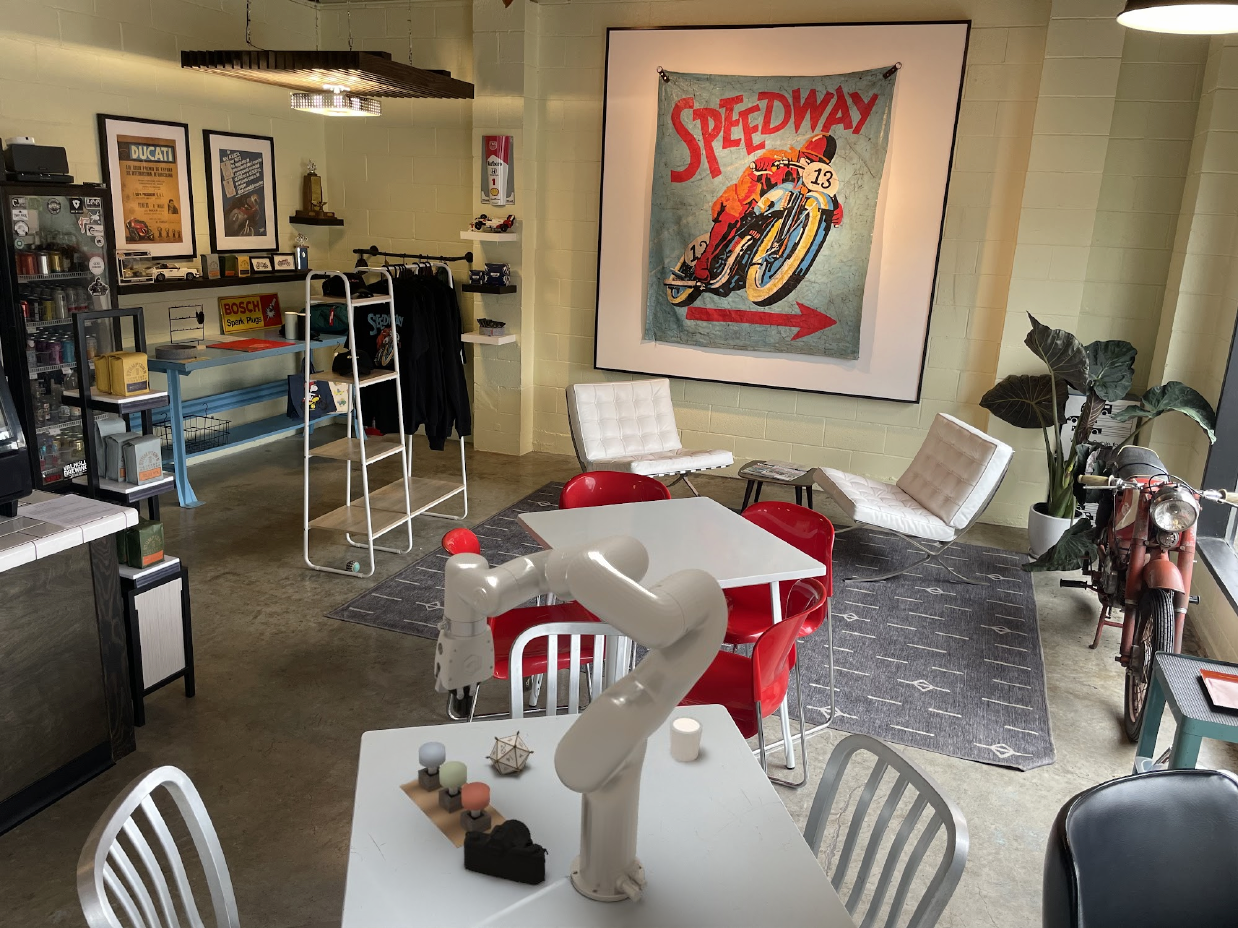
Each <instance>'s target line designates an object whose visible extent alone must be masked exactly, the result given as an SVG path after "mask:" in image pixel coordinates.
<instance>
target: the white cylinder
mask: <svg viewBox="0 0 1238 928" xmlns="http://www.w3.org/2000/svg"><path fill="white" fill-rule="evenodd" d="M703 726H704V725H703V723H702V721H700V720H699V719H697V718H696V717H695V718H694V717H693V716H685V715H684V716H676V717H675V718H674V717H673V719H671V721H670V723H669V731H670V733H669V735H670V737H669V738H670V755H671V757H672V758H673V759H675V760H676V761H679V762H686V763H687V762H688V763H689V762H693V761H695V760H697V758H698V756H699V751H700V750H699V748H700V745H701V744H700V743H701V738H702V733H703Z"/></svg>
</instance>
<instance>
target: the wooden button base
mask: <svg viewBox="0 0 1238 928" xmlns="http://www.w3.org/2000/svg"><path fill="white" fill-rule="evenodd" d="M440 767H441V765H440V766H438V767H437V772H436V773H435V774H429V773H428V768H427V767H424V768H421V769H419V770H417V776H418V778H417V779H414V780H412V781H409V782H407V783H405V784H402V785H399V788H400V789H401V791H403V792H404V793H405V794H406V795H407V797H409V798H410V799H411V800H412V801H413V803H414V804H415V805H417V807H418V808H419V809H420V810H421V811H422V812H423V813H424V815H426V816H427V818H428V819H429V820H430V821H431V822H432V823H433V824H434V825H435V826H436V827H437V829H439V830H440V831H441V833H442V834H444V835H445V836H446V838H447V839H448V840H449V841H450V842H451V843H452V844H453V845H454V846H455V847H456V849H458V848H459V849H460V847H464V839H465V837H466V836H465V833H466V832H468V831H470V832H471V831H478V832H482V833H488V834H489V833H491V831H492V830H493V828H494V827H495V826H496V825H501V824H503V823H504V822H505V821H506V820H507V819H506V818H505V817H504V816H503V815H502V814H501V813H500V812H499V811H498V810H497V809H496V808H494V807H493V806H492V805H491V804H490V803H489V805H488V806H487V807H486V808H484V809H482V810H480V816H479V817H472V816H471V810H467V809H465V808H464V807H463V806H462V788H463V787H464V786H465V785H467V784H469V782H468V781H467V782H466V783H465V784H464V785H463V786H461V787H459V788H458V793H457V794H456V795H450V794H449V788H445V787H443V786H442V785H441V784H440V777H439V769H440ZM468 834H469V833H468Z"/></svg>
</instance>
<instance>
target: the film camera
mask: <svg viewBox="0 0 1238 928" xmlns="http://www.w3.org/2000/svg"><path fill="white" fill-rule="evenodd" d="M468 833H469V834H468ZM465 836H466V837H465V839H464V845H463V867H464V869H465V870H467V871H469V872H473V873H477V874H481V875H485V876H488V877H489V876H490V877H494V878H497V879H502V880H505V881H506V880H507V881H510V882H516V883H519V884H525V885H530V886H537V885H541V883H543V882H545V881H546V860H547V859H546V856H548V855H549V851H548V850H547V848H545V847H543V846H542V845H540V844H539V843H534V841H533V839H532V836H531V831H530V829H529V827H528V825H526V824H525V823H524V821H521V820H519V819H515V818H510V819H506V821H505V822H504V823H503V824H501V825H496V826H495V827H494V828H493V830H492V831H491V833H489V834H488V833H482V832H478V831H471V832H470V831H468V832H466V833H465ZM545 854H546V855H545Z"/></svg>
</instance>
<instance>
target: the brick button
mask: <svg viewBox="0 0 1238 928" xmlns="http://www.w3.org/2000/svg"><path fill="white" fill-rule="evenodd" d="M490 803H491V788H490V786H489V785H488V784H487V783H484V782H481V781H473V782H468V784H467V785H465V786H464V787H463V788H462V806H463V807H464V808H465V809H467V810H471V816H472V817H479V816H480V810H482V809H484V808H486V807H487V806H488V805H489V804H490Z"/></svg>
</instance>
